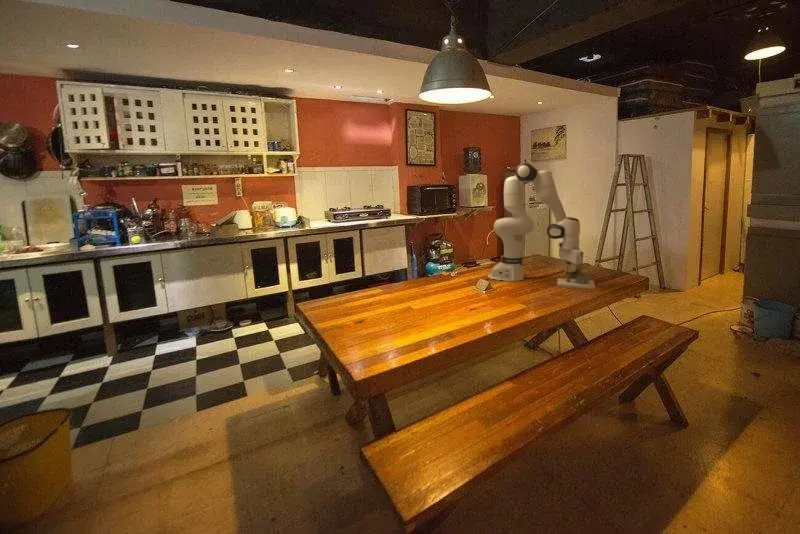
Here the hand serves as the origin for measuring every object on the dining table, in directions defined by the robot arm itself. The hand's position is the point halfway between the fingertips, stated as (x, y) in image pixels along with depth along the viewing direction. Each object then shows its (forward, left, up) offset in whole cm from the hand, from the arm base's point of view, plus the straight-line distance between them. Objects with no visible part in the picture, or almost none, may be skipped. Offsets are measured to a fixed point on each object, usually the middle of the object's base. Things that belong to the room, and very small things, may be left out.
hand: (569, 268), depth 233 cm
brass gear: (0, 0, -2) cm, 2 cm away
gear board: (+4, 0, -10) cm, 10 cm away
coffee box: (+3, +18, -10) cm, 21 cm away
